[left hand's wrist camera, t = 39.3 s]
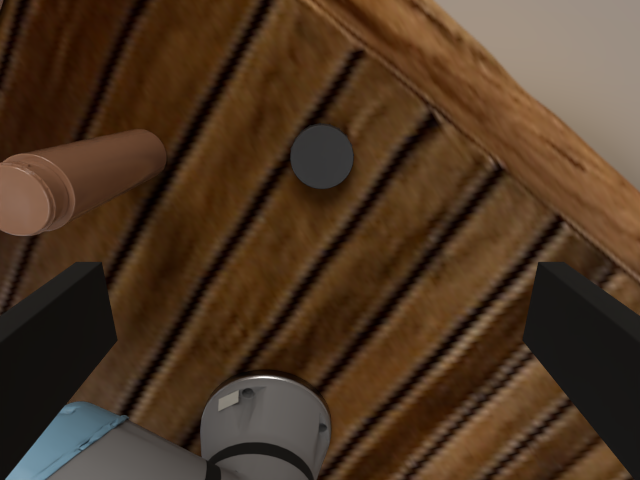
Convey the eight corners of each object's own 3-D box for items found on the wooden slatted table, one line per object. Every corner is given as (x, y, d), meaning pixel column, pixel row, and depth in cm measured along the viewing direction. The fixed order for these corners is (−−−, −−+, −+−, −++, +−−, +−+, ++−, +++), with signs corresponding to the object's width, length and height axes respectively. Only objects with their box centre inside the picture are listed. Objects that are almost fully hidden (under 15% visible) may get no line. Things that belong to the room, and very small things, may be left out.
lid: (362, 138, 38) (364, 141, 36) (337, 193, 40) (337, 199, 38) (305, 112, 37) (304, 113, 35) (282, 170, 39) (280, 174, 37)
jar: (177, 155, 38) (73, 204, 22) (145, 188, 40) (25, 257, 23) (137, 117, 37) (-2, 140, 21) (106, 153, 38) (-49, 199, 22)
